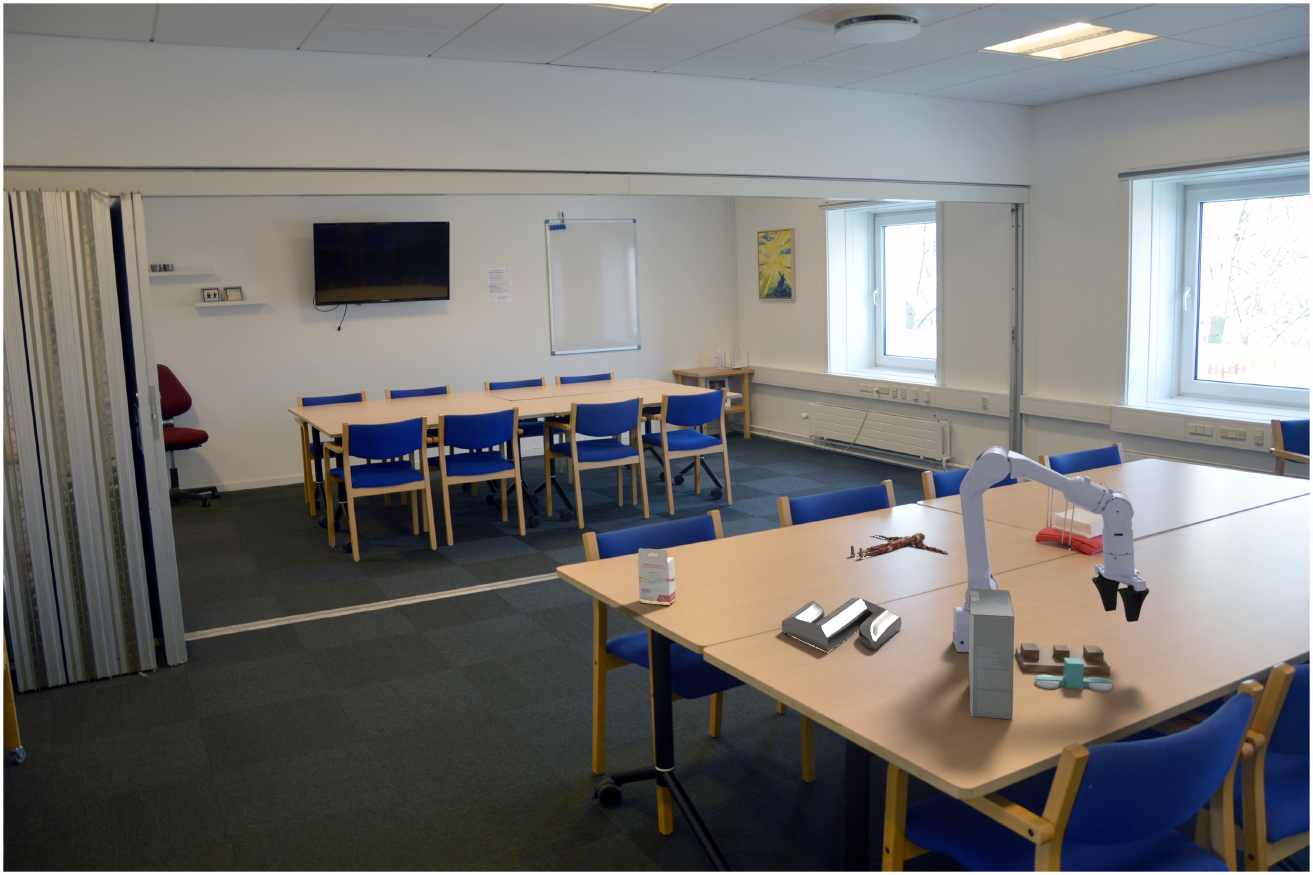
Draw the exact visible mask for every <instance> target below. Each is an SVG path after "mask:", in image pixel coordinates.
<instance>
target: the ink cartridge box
mask: <svg viewBox="0 0 1313 875" xmlns="http://www.w3.org/2000/svg"><path fill="white" fill-rule="evenodd" d="M649 554H654V555H649ZM655 555H656V556H655ZM637 566H638V567H637V568H638V587H639V589H638V590H639V600H640V599H643V600H649V601H658V602H669V603H670V602H671V601H672V600H673V599H675V598H676V597H677V596H676V595H677V594H676V572H675V570H676V569H675V557H673V556H672V557H671V556H670V557H669V556H668V550H666V549H654V548H641V547H640V548H638V560H637Z"/></svg>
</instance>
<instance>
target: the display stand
mask: <svg viewBox="0 0 1313 875" xmlns="http://www.w3.org/2000/svg"><path fill="white" fill-rule="evenodd" d="M1052 646H1053V647H1038V645H1037V643H1031V642H1030V643H1029V642H1020V646H1015V655H1016V658H1017V660H1018V662H1019V664H1020V666H1021V668H1022V671H1023V672H1032V673H1033V672H1034V673H1055V674H1056V673H1058V674H1064V658H1080V659H1081V661H1082V662H1083V664H1084V672H1083V675H1100V676H1102V675H1103V676H1104V675H1105V676H1110V673H1111V667H1110V666H1109V664H1108V663H1107V661H1106V660H1105V659H1104V657H1105V656H1104V654H1105V651H1103V650H1102V648H1101V647H1100V645H1089V644H1088V645H1083V646H1082V647H1083V648H1082V649H1081V648H1080V649H1079V648H1069V647H1068V646H1067V645H1063V644H1058V645H1057V644H1053V645H1052Z"/></svg>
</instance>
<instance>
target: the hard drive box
mask: <svg viewBox="0 0 1313 875" xmlns="http://www.w3.org/2000/svg"><path fill="white" fill-rule="evenodd" d="M1014 651H1015V612H1014V607H1013V603H1012V596H1011V593H1010V591H1009V590H1007V589H998V590H994V589H973V588H972V589H971V588H970V589H969V652H968V689H969V692H968V693H969V711H970V716H971V717H977V718H990V719H991V718H992V719H999V720H1000V719H1003V720H1004V719H1005V720H1013V713H1014V659H1015V658H1014V653H1015V652H1014Z"/></svg>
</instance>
